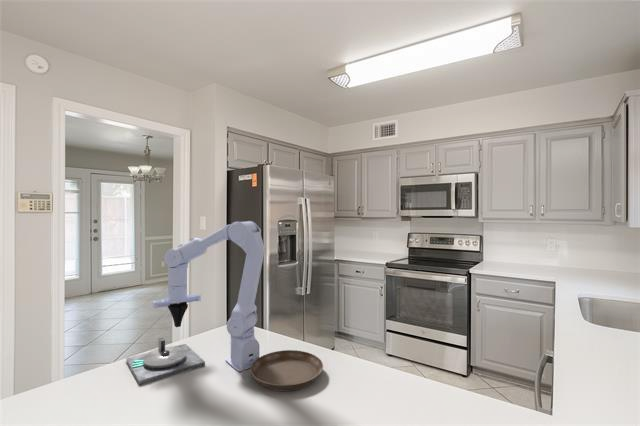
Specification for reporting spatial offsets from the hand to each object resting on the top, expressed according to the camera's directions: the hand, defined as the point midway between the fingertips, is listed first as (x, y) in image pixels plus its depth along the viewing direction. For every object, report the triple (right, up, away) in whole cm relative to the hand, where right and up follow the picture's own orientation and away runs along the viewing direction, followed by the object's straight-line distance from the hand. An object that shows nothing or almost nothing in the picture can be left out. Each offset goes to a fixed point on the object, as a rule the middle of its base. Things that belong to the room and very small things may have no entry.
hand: (177, 326), depth 110 cm
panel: (-1, -9, -7) cm, 12 cm away
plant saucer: (+37, -10, -14) cm, 41 cm away
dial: (-1, -8, -7) cm, 10 cm away
